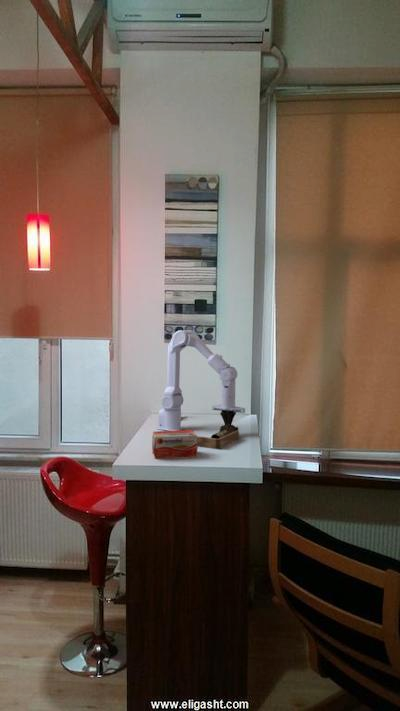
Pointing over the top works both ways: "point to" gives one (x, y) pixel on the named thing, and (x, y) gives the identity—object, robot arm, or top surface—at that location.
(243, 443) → the top surface
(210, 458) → the top surface
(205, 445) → the corner fence
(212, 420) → the top surface
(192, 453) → the medicine box
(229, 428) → the brown rock
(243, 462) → the top surface
